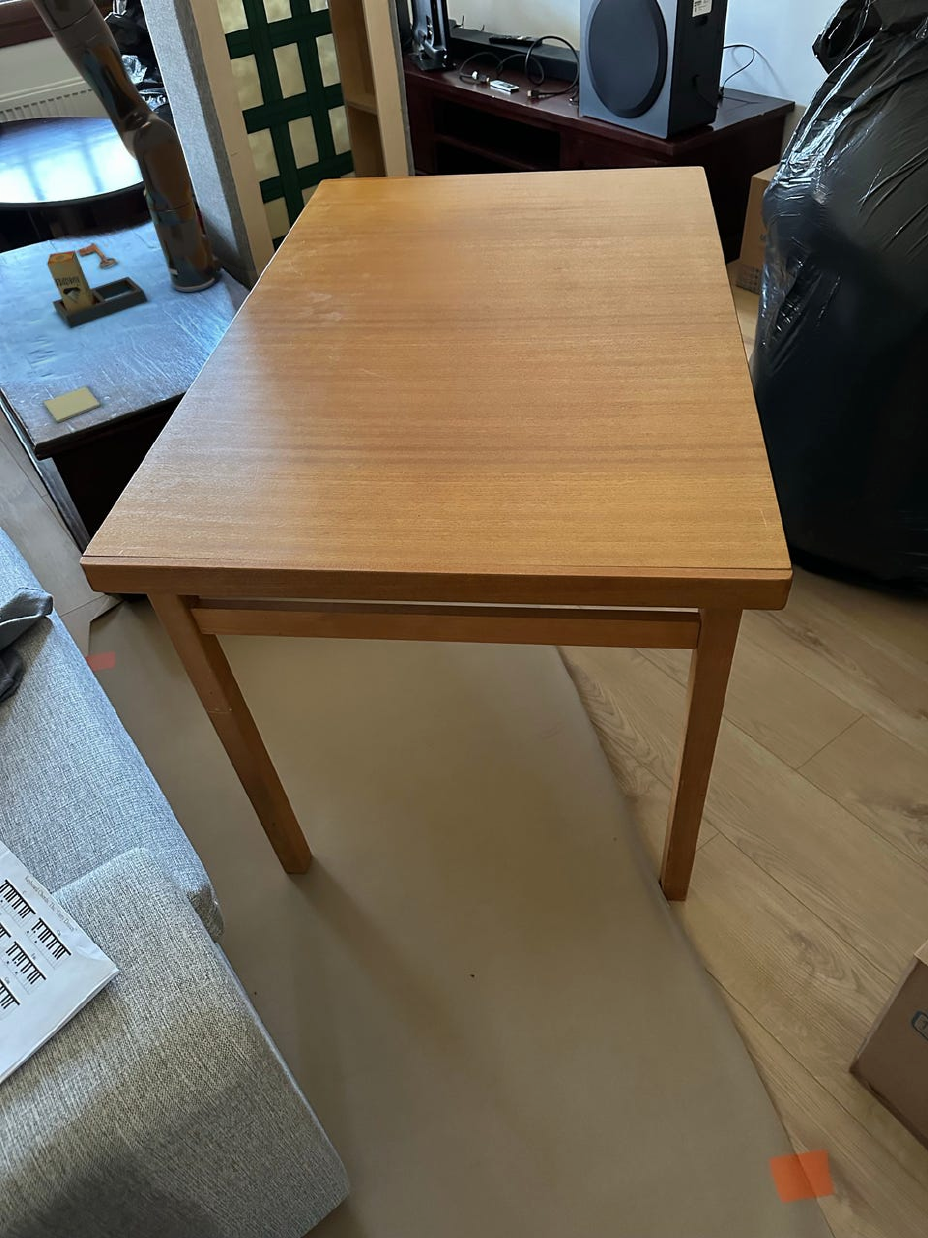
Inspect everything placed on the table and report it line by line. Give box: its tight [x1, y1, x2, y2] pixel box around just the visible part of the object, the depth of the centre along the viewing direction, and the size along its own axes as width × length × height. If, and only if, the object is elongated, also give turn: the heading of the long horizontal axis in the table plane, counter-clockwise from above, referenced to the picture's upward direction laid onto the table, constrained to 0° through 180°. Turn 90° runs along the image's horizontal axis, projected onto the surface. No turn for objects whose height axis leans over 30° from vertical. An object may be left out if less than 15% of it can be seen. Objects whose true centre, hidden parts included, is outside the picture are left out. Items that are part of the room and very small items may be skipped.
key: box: [77, 242, 116, 268], centre depth 199 cm, size 6×1×15 cm
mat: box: [43, 386, 101, 423], centre depth 154 cm, size 8×8×1 cm
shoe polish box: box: [46, 250, 96, 313], centre depth 175 cm, size 5×5×12 cm
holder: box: [52, 276, 147, 329], centre depth 180 cm, size 17×9×2 cm, turn 126°
